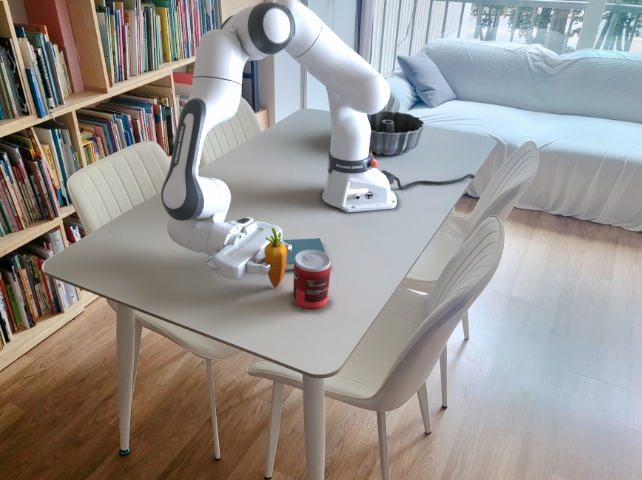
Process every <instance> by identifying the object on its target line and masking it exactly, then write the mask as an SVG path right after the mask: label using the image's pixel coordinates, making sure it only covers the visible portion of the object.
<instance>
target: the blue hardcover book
mask: <svg viewBox="0 0 642 480" xmlns="http://www.w3.org/2000/svg"><path fill="white" fill-rule="evenodd" d="M282 240H283V241H284V242H285V243H287V244H290V245H291V246H292V250H291V252H289V253H288V254H287V258H286V268H285V272H290V271H292V272H294V259H295V256H296V254H297V253H299V252H301V251H304V250H318V251H321V252H324V253H326V252H325V249H324V246H323V243H322V240H321V237H320V238H319V237H318V238H299V239H298V238H297V239H296V238H295V239H282Z"/></svg>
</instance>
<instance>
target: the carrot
mask: <svg viewBox="0 0 642 480" xmlns="http://www.w3.org/2000/svg"><path fill="white" fill-rule="evenodd" d="M272 232H273V235H274V236H272V235H271V236H270V237H271V238H269V237H266V240H269V241H270V242H271V243H270V244H268V245H267V246H266V247H265V257H264V258H265V261H264V263H266V264H269V265H270V271H269V272H268V273H267V276H268V279H269V281H270V283H271V285H272V287H274V288H278V287H279V286H280V284H281V283H282V281H283V278H284V276H285V273H286V271H285V268H286V258H287V250H286V248H285V245H284V244H282V243H279V242H280V239H281V232H279V234H278V235H277V231H276V229H275V228H272ZM274 238H275V239H274Z"/></svg>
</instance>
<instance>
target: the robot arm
mask: <svg viewBox="0 0 642 480" xmlns="http://www.w3.org/2000/svg"><path fill="white" fill-rule="evenodd" d="M283 50H284V51H285V53H287V54H288V55H289V56H290V57H291V58H292V59H293V60H294V61H296V62H297V63H298V64H299V65H300V66H301V67H302V68H303V69H304V70H305V71H306V72H308V73H309V74H310V75H311V76H312V77H313V78H314V79H316V80H317V81H318V82H319V83H320V84H322V85H323V86H324V87H325V90H326V94H327V98H328V99H327V100H328V108H329V114H330V115H329V116H330V123H331V124H330V125H331V132H330V151H329V152H328V157H327V167H326V168H327V169H326V170H327V177H326V182H325V186H324V189H323V192H322V195H321V198H322V200H323V201H324V202H325V203H326V204H328V205H329V206H331V207H335V208H338V209H339V210H342V211H343V212H345V213H354V212H355V213H358V212H368V211H380V210H392V209H394V208H396V207H397V201H398V200H397V196H396V194H395V192H394V190H393V189H391V185H393V184H394V183H395V181H396V183H397V187H398V188H399V190H406V189H409V188H411V187H412V186H415V185H419V184H421V185H422V184H426V185H447V184H453V183H459V182H462V181H464V180H466V179H467V178H472V179H476V176H475V175H474V174H473V173H468V174H465V175H464V176H463V177H460V178H456V179H450V180H441V181H434V180H417V181H413V182H410V183H408V184H407V185H405V186H402V184H401V180H400V179H399V178H398V177H397V176H395V175H394V174H393V173H391V172H389V171H387V170H385V169H382V170H379V169H378V168H377V167H379V162H378V160H377V159H376V157H375V156H374V155H373V153H372V152H369V144H370V134H371V127H370V123H369V121H368V118H367V114H376V113H378V112H380V111H383V109H384V108H385V107H386V106H387V104H388V103H389V100H390V97H391V87H390V85H389V82H388V81H387V80H386V78H385V77H383V75H382V74H381V73H380V72H378V70H377V69H376V68H374V67H373V66H372V65H371V64H370V63H368V61H367V60H366V59H364V57H362V56H361V55H360V54H359V53H358V52H356V51H355V50H354V49H353V48H351V47H350V46H349V45H348V44H347V43H345V42H344V41H343V40H342V39H341V38H340V37H339V36H338V35H337V34H336V33H335V32H334V31H333V30H332V29H331V28H330V26H328V25H327V23H325V22H324V21H323V20H322V19H321V18H320V17H319V16H318V15H317V14H316V12H314V11H312V10H311V8H309V7H308V6H307V5H305V4H304V3H302V2H301V1H300V0H275V2H271V1H263V2H260V3H257V4H256V5H251V6H248V7H245V8H243V9H241V10H240V11H238V12H237V13H235V14H233V15H230V16H229V17H228V18H226V19H225V20H224V21H223V23H222V24H221V26H220V27H219V28H215V29H210V30H207V31H206V32H205V33H203V35H202V36H201V37H200V39H199V43H198V46H197V49H196V54H195V60H194V66H193V72H192V73H193V74H192V83H191V88H190V89H191V90H190V94H189V97H188V100H187V101H186V103H185V104H184V105H183V107H182V109H181V112H180V115H179V118H178V123H177V127H176V132H175V137H174V143H173V148H172V154H171V157H170V158H171V159H170V164H169V168H168V171H167V174H166V177H165V179H164V181H163V184H162V187H161V192H160V199H161V203H162V207H163V208H164V210H165V212H166V213H167V215H168V216H169V217H168V219H167V224H166V230H167V234H168V236H169V238H170V239H171V241H173V242H174V243H175V244H177V245H179V246H181V247H183V248H185V249H187V250H190V251H192V252H195V253H198V254H206V255H207V256H208V257H207V258H206V260H205V267H207V268H208V269H210V270H214V271H215V272H216V273H218V274H219V275H221V276H223V277H225V278H227V279H230V280H233V281H237V280H240V279H242V278H243V277H245V275H246V274H247V273H250V274H258V273H261V274H264V275H266V274H267V275H268V272H269V271H270V265H269V264H266V262H265V261H264V262H262V263H259V262H261V261H262V260H263V259H264V258H265V247H266V246H267V245H268V244H270V243H271V242H270V241H269V240H266V237H269V238H271V237H270V236H271V235H272V236H274V235H273V232H272V228H275V229H276V231H277V235H278V234H279V232H281V239H280V242H279V243H282V244H284V245H285V248H286V250H287V254H288V253H289V252H291V250H292V246H291V245H290V244H287V243H285V242H284V241H283V240H284V239H283V229H282V228H281V227H280V226H279V225H275V224H272V223H269V222H266V221H262V220H254V218H253V217H250V216H244V217H242V218H239V219H236V220H232V221H231V220H230V221H227V222H226V218H227V216H228V213H229V210H230V208H231V203H232V193H231V189H230V187H229V186H228V184H227V183H226V182H225V181H224V180H223V179H221V178H218V177H212V176H199V168H200V163H201V159H202V153H203V148H204V143H205V139H206V136H207V134H208V133H209V132H210V131H211V130H212V129H214V127H216V126H219V125H221V124H224V123H226V122H228V121H230V120H231V119H232V118H233V117H234V116H235V115H236V114H237V112H238V110H239V107H240V103H241V97H242V85H243V72H244V68H245V65H246V63H247V62H255V61H258V60H262V59H264V58H267V57H269V56H272V55H277V54H278V53H280V52H281V51H283ZM274 239H275V238H274Z"/></svg>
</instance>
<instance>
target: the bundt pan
mask: <svg viewBox="0 0 642 480" xmlns="http://www.w3.org/2000/svg"><path fill="white" fill-rule="evenodd" d="M367 118H368V121H369V123H370V127H371V134H370V144H369V153H375V154H376V155H378V156H379V155H381V154H383V155H385V156H391V155H394V156H400V155H401V154H407V153H408V152H410V151H412V150H414V149H415V148H416V147H417V146H418V145H419V143H420V138H421V135H422V133H423V130H424V129H425V121H423V120H422V119H420V117H418V116H414V115H413V114H410V113H405V112H400V111H391V110H381V111H380V112H378V113H376V114H367Z"/></svg>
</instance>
